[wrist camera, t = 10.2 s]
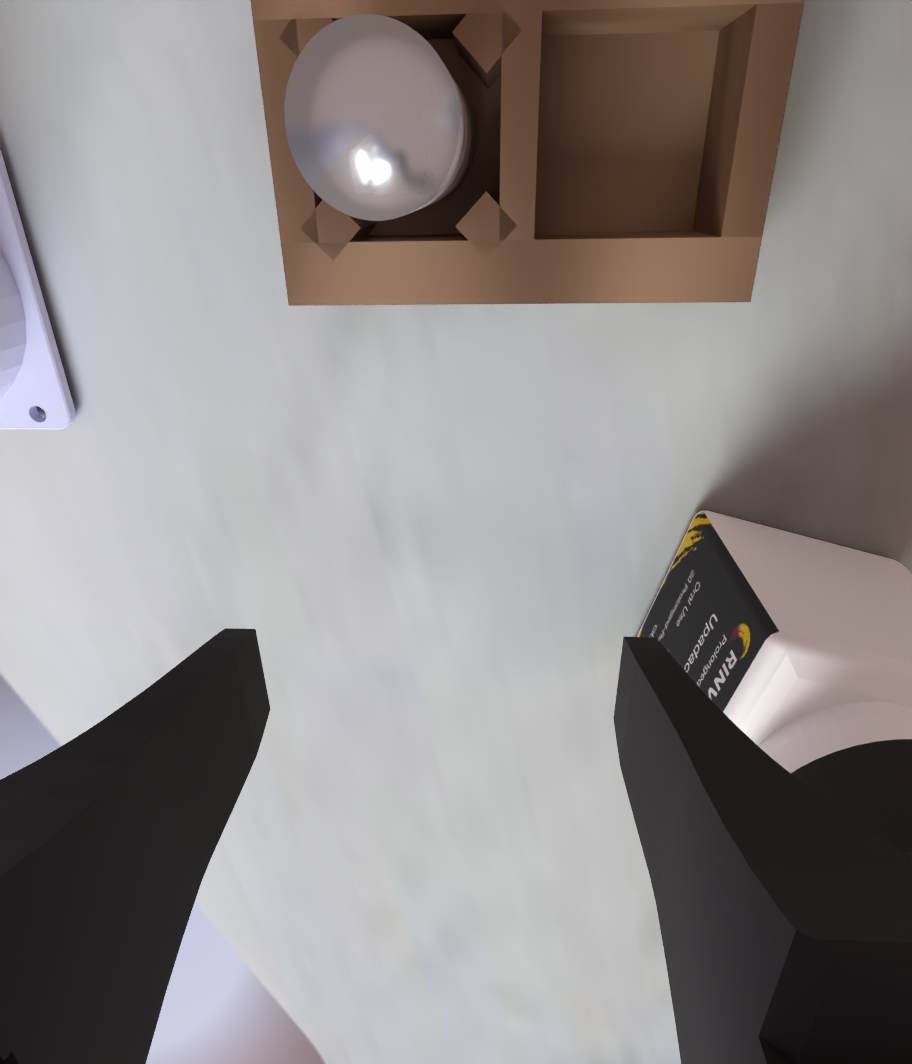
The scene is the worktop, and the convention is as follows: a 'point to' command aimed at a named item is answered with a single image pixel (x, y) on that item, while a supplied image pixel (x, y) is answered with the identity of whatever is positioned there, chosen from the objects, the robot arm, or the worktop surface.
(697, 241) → the socket block
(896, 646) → the medicine bottle
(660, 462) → the worktop surface
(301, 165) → the round bit
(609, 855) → the worktop surface
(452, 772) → the worktop surface
